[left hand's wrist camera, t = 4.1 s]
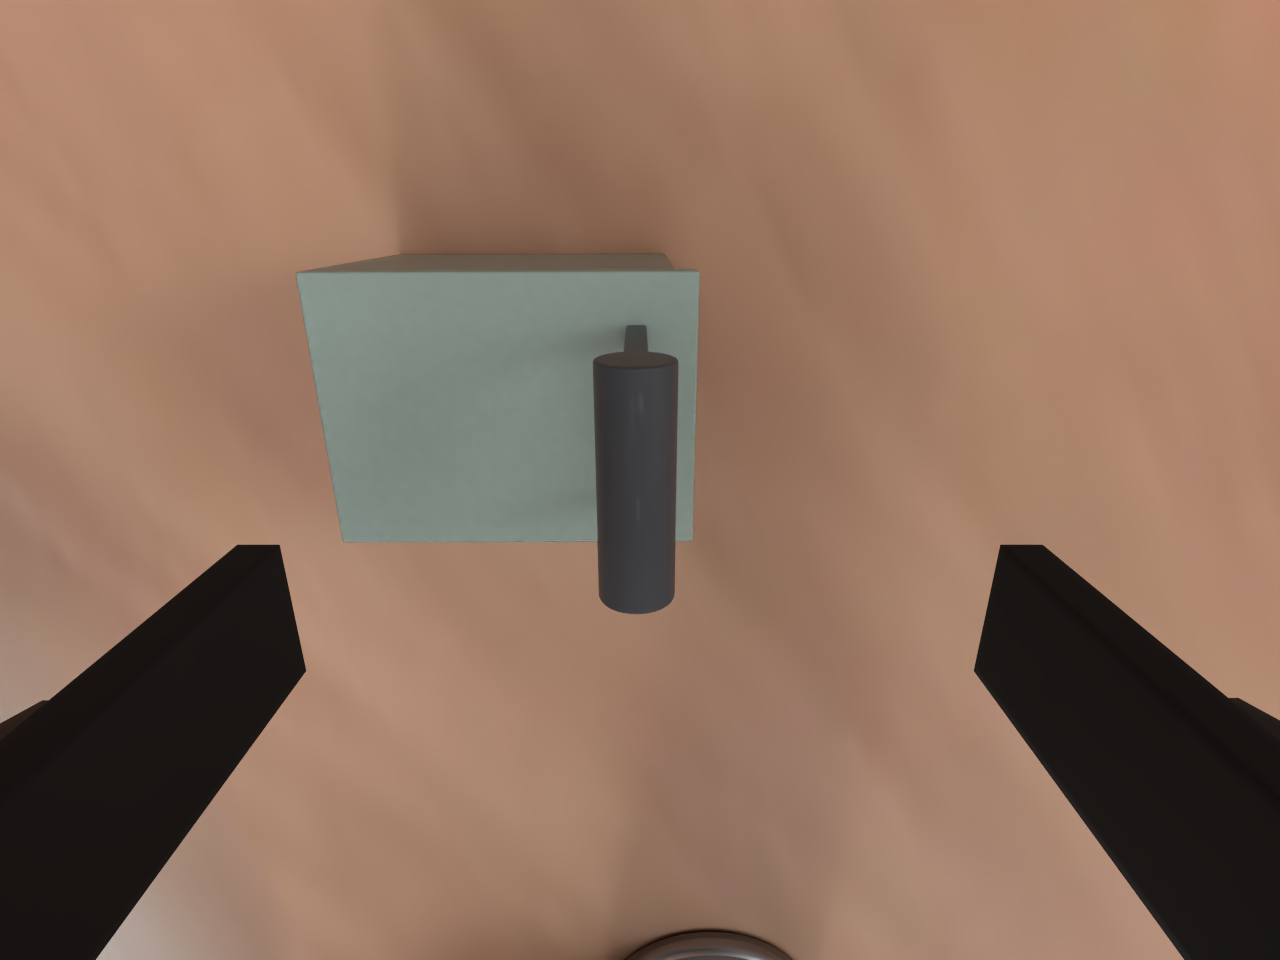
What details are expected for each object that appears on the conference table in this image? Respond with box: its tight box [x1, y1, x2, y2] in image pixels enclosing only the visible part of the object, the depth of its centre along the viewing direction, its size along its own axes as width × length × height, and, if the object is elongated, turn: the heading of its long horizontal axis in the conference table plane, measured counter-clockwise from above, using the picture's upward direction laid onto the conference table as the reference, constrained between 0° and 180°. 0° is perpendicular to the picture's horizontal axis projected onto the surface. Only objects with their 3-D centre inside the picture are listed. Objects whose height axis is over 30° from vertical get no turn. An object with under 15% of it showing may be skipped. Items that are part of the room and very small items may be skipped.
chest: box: [312, 254, 674, 270], centre depth 30 cm, size 13×10×10 cm
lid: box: [296, 269, 700, 614], centre depth 22 cm, size 14×10×9 cm
